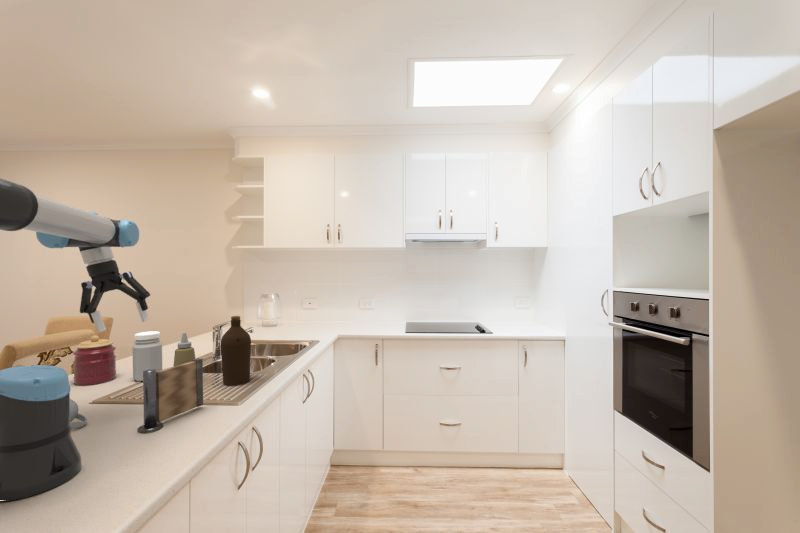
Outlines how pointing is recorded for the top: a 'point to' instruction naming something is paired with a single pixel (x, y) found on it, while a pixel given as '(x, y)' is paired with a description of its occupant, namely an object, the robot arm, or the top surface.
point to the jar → (146, 353)
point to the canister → (94, 362)
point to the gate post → (150, 403)
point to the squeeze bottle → (184, 352)
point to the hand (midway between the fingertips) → (124, 326)
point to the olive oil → (236, 354)
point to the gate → (179, 389)
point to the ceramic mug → (76, 416)
